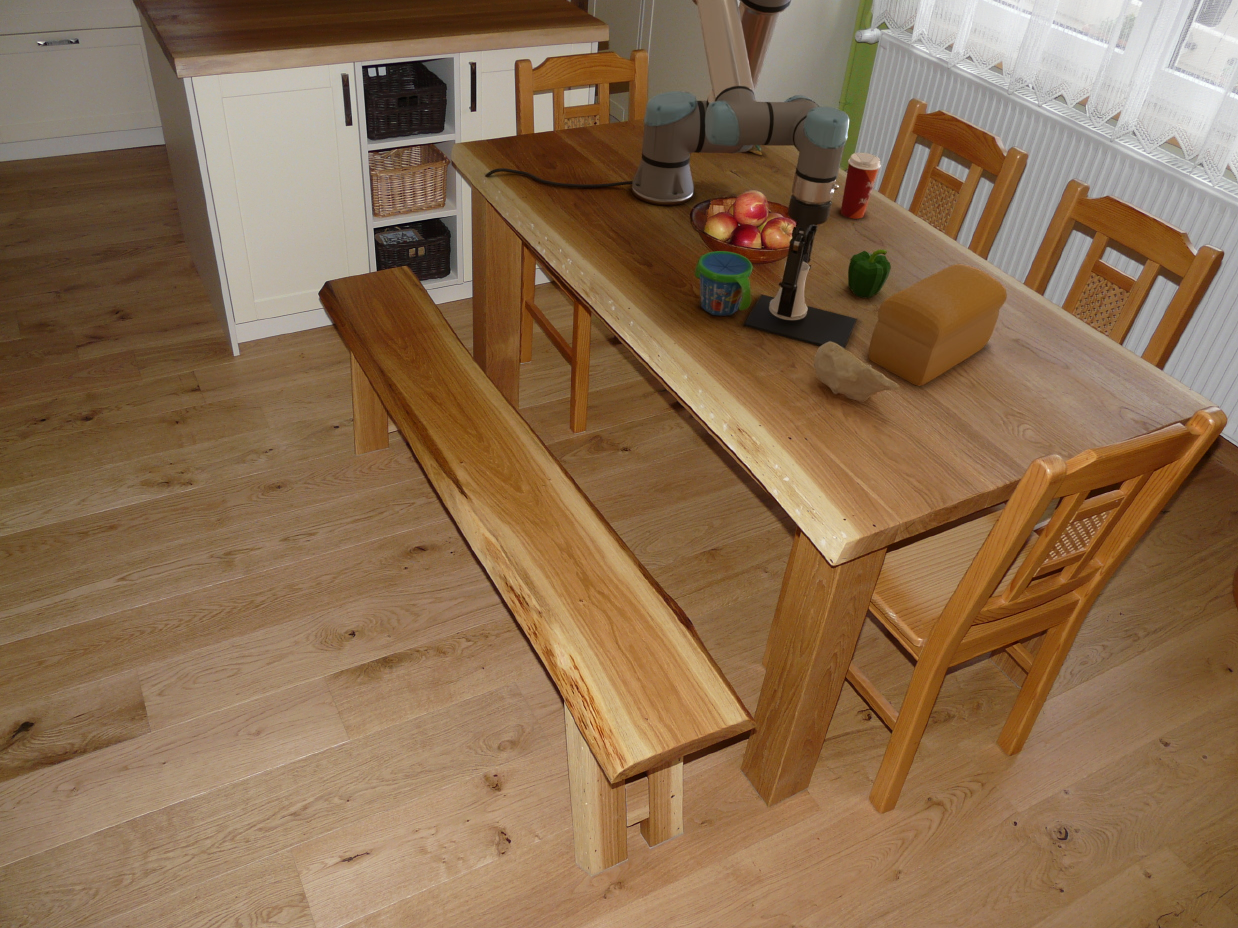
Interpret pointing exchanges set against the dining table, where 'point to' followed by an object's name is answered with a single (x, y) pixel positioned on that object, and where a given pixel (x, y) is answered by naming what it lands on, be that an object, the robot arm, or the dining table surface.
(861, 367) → the beige lumpy piece
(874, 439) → the dining table surface
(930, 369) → the bread
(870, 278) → the bell pepper
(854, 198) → the paper cup
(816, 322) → the placemat
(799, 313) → the vase
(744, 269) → the snack cup
